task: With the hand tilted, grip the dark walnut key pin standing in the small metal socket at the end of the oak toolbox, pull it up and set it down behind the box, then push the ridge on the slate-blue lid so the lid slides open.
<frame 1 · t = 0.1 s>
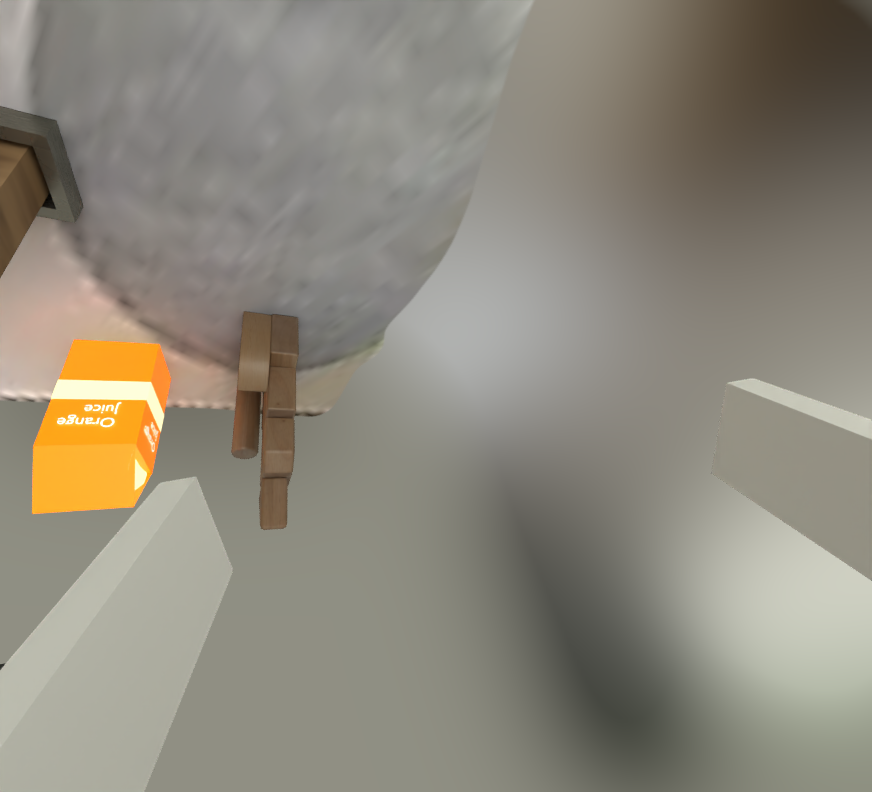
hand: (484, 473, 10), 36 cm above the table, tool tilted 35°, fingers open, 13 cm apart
socket: (13, 153, 32), on the table
wooden toy: (266, 351, 56), on the table
key pin: (13, 153, 32), resting in socket
orange juice: (126, 359, 53), on the table
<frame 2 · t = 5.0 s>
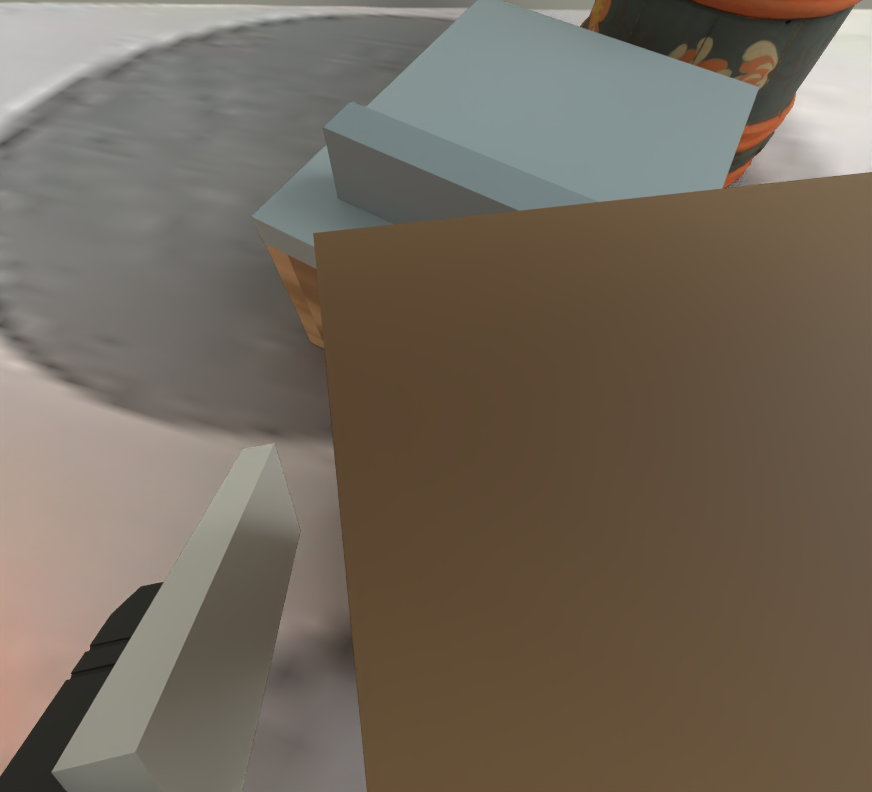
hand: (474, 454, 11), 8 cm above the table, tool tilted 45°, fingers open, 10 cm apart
key pin: (457, 568, 17), resting in socket
lid: (545, 126, 15), point 9 cm above the table, slide at 0.1 cm, touching gripper
toolbox: (501, 280, 24), on the table
beer stein: (636, 118, 31), on the table
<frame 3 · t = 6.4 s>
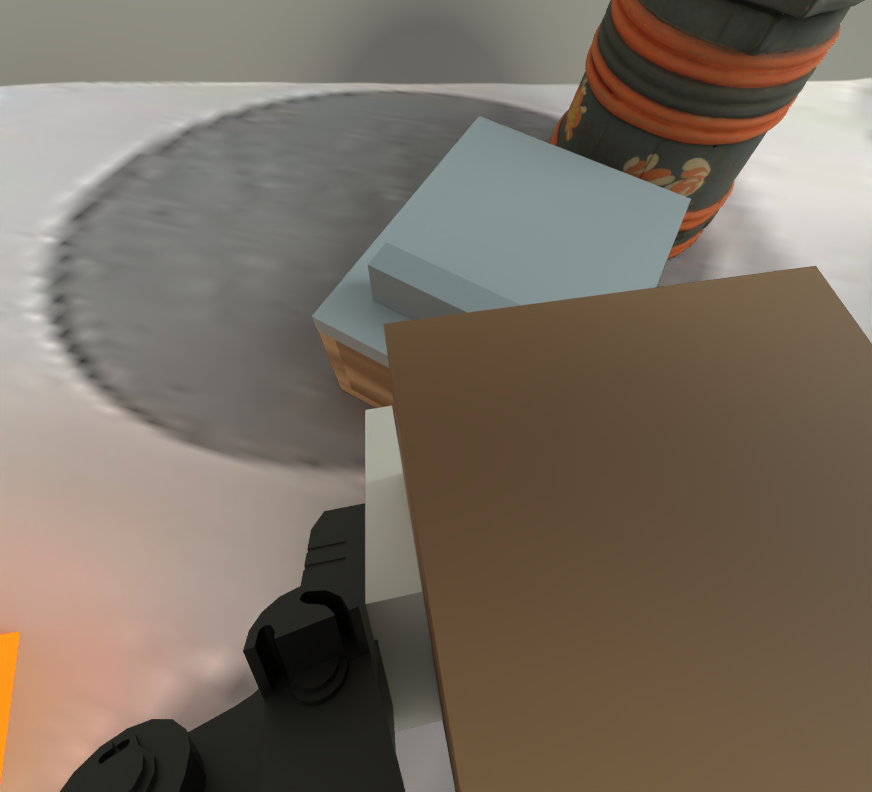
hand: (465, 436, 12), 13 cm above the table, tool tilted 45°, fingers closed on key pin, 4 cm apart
key pin: (461, 567, 18), point 5 cm above the table, touching gripper
lid: (524, 242, 21), point 9 cm above the table, slide at 0.1 cm
toolbox: (494, 335, 29), on the table
beer stein: (609, 187, 36), on the table
when the fingers open (8 cm above the table, at t = 11.1 s): key pin stays where it is, on the table.
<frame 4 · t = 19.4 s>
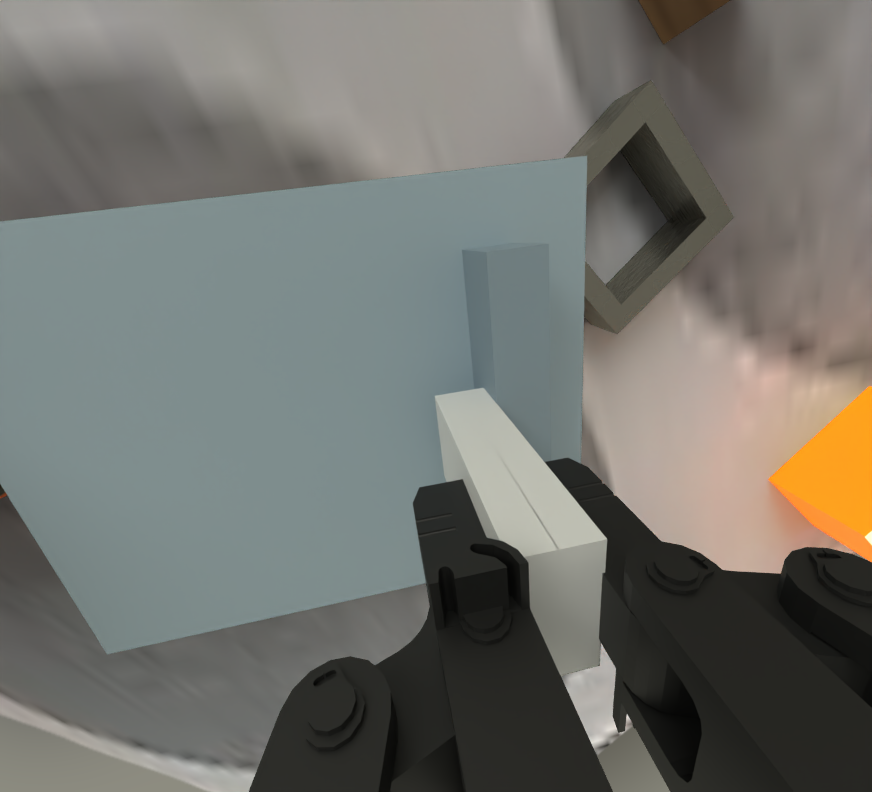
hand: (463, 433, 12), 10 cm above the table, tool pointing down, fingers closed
socket: (601, 222, 20), on the table
lid: (313, 447, 12), point 9 cm above the table, slide at 0.7 cm, touching gripper
orange juice: (836, 459, 29), on the table
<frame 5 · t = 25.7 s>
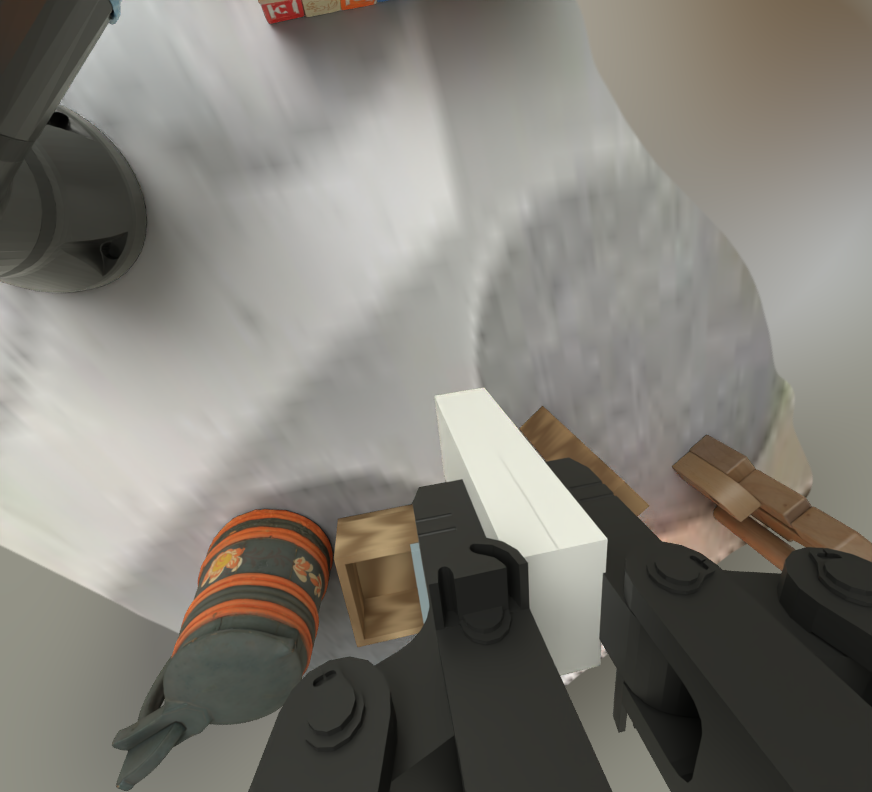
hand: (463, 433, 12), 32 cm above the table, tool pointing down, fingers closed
wooden toy: (711, 479, 59), on the table
key pin: (540, 426, 51), on the table
lid: (496, 586, 47), point 9 cm above the table, slide at 8.4 cm
toolbox: (415, 547, 54), on the table
beer stein: (260, 563, 51), on the table
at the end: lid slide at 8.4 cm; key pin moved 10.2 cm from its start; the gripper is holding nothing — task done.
